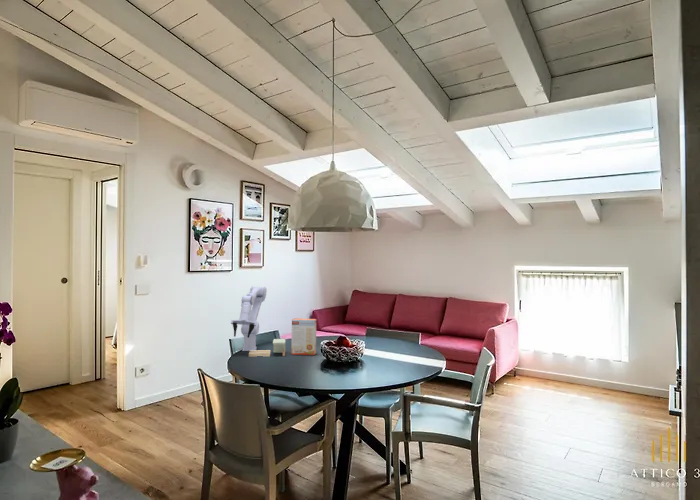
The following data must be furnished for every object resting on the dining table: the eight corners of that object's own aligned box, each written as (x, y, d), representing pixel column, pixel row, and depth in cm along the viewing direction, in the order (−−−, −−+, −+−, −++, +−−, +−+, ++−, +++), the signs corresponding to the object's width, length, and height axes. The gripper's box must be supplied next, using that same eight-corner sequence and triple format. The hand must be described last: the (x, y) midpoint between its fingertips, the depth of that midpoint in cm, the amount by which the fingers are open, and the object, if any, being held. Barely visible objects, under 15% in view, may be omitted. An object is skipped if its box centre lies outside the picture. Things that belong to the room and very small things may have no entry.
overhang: (273, 352, 262) (273, 338, 262) (285, 351, 263) (285, 338, 263) (272, 356, 250) (272, 342, 250) (284, 356, 251) (285, 342, 251)
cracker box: (316, 353, 261) (316, 318, 261) (314, 355, 255) (315, 319, 255) (293, 352, 262) (294, 317, 262) (290, 354, 256) (291, 319, 256)
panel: (250, 354, 257) (250, 350, 257) (270, 354, 259) (270, 350, 259) (248, 357, 249) (248, 353, 249) (269, 357, 251) (269, 353, 251)
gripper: (232, 310, 253) (227, 333, 245) (257, 313, 254) (253, 335, 247) (233, 315, 258) (229, 337, 251) (257, 317, 260) (254, 339, 253)
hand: (241, 336), depth 250 cm, fingers open, 7 cm apart
